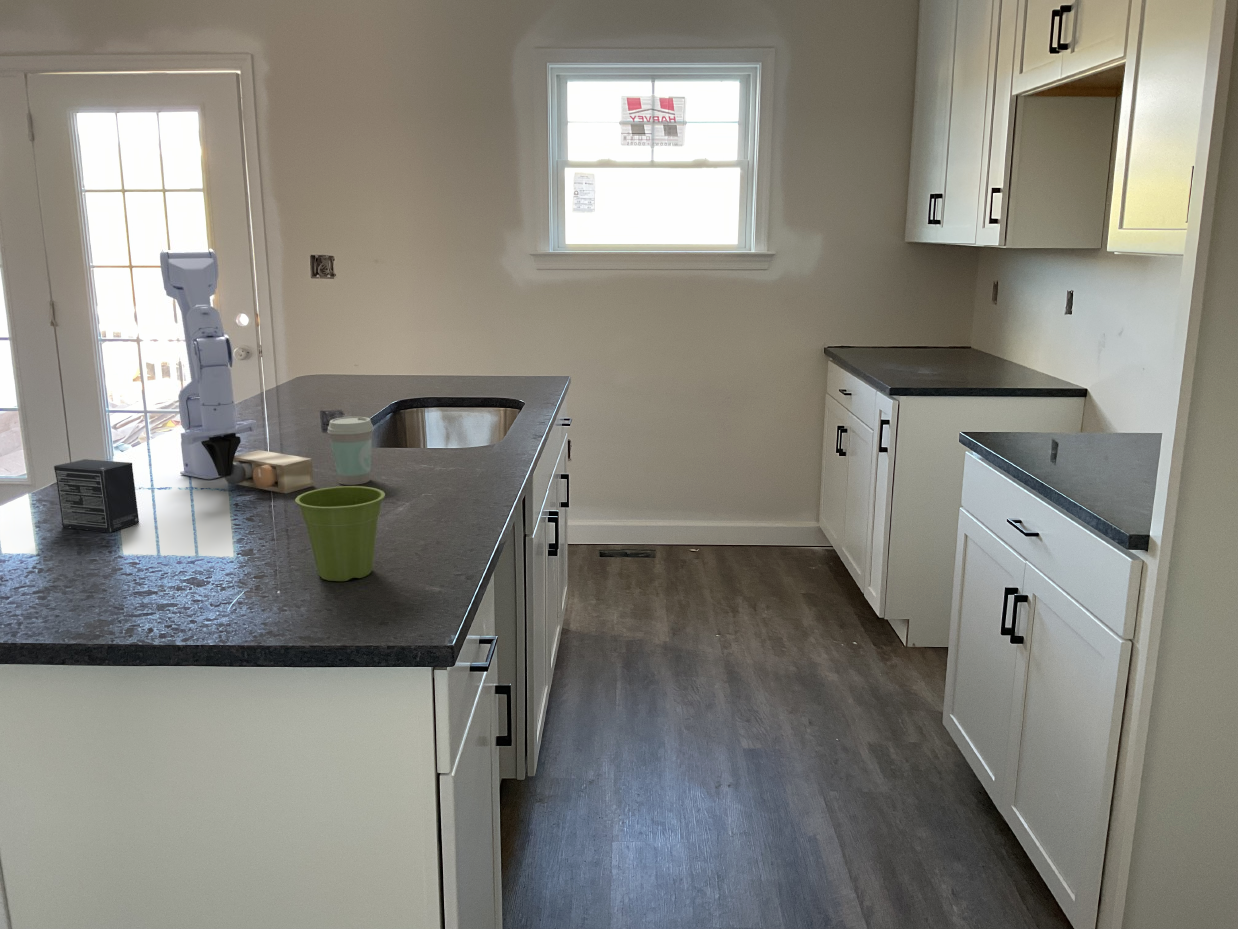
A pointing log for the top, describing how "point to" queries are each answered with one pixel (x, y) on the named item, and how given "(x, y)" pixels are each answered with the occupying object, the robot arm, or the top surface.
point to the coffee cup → (351, 448)
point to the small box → (97, 495)
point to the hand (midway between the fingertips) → (224, 475)
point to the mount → (280, 470)
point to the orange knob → (265, 476)
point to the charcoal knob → (239, 473)
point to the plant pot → (342, 529)
